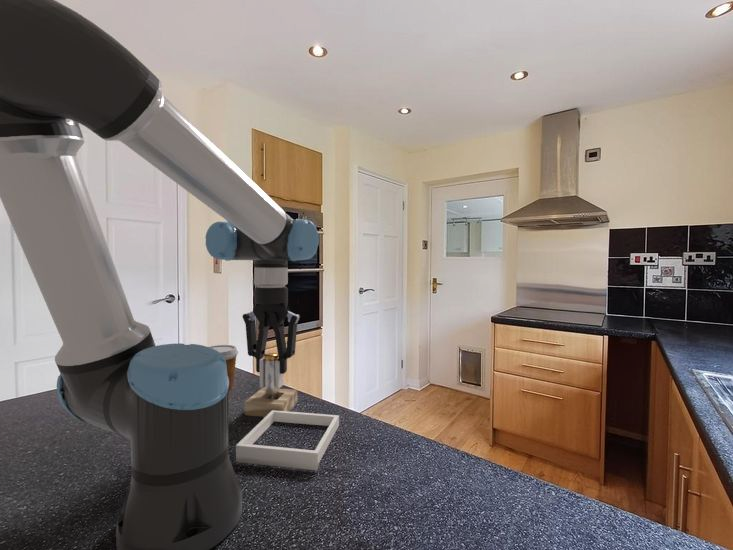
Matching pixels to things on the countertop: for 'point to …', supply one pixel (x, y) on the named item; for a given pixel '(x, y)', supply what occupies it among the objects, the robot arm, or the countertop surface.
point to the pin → (270, 376)
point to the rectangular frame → (280, 454)
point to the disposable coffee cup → (228, 360)
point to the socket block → (270, 402)
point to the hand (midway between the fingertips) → (271, 386)
